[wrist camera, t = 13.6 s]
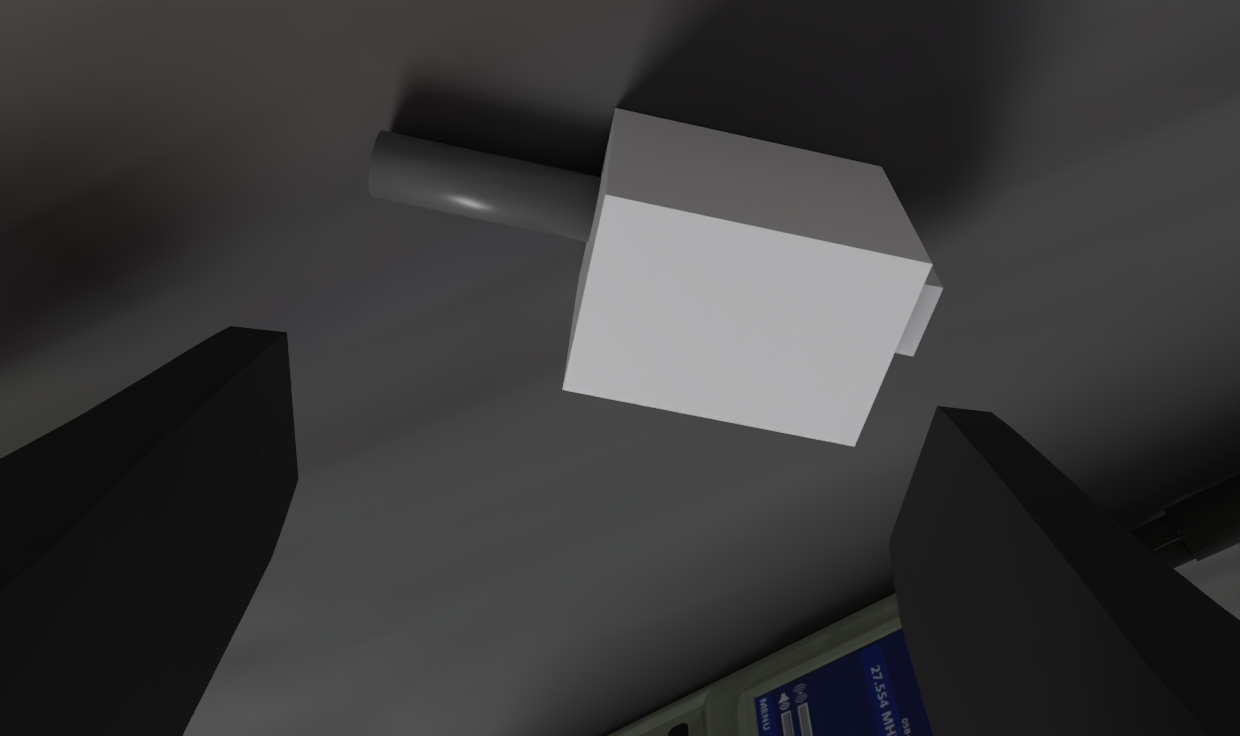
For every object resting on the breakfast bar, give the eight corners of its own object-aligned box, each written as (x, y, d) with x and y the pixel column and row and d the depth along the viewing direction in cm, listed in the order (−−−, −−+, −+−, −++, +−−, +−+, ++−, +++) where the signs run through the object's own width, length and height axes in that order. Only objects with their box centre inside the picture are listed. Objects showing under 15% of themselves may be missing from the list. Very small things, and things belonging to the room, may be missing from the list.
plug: (377, 236, 19) (317, 342, 16) (393, 58, 17) (329, 136, 14) (868, 336, 20) (910, 457, 17) (933, 177, 18) (995, 277, 15)
